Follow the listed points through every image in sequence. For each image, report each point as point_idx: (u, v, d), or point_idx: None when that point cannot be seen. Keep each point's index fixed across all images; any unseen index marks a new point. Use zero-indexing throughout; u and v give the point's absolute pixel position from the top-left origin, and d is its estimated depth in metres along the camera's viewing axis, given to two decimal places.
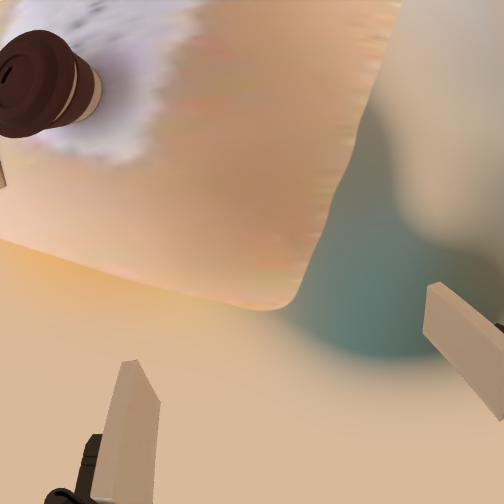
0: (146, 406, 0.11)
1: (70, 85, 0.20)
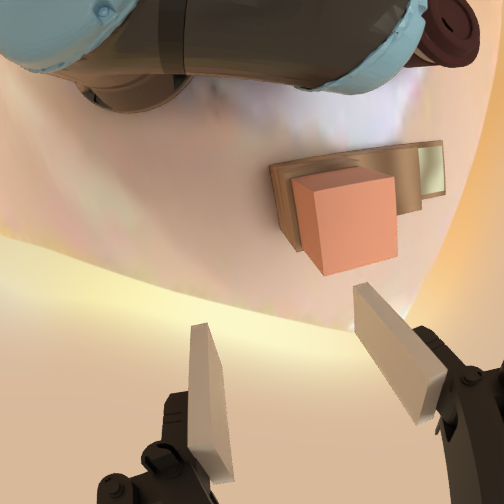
0: (216, 366, 0.13)
1: None
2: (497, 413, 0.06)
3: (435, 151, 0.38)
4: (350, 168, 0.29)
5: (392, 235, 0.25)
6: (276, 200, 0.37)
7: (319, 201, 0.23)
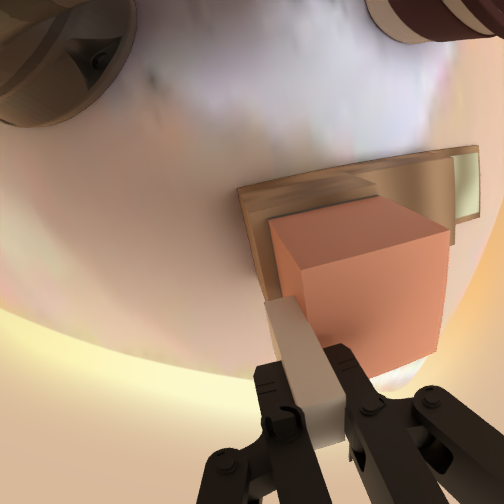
0: None
1: None
2: (410, 440, 0.07)
3: (470, 160, 0.26)
4: (367, 200, 0.18)
5: (434, 324, 0.14)
6: (249, 239, 0.26)
7: (312, 287, 0.12)
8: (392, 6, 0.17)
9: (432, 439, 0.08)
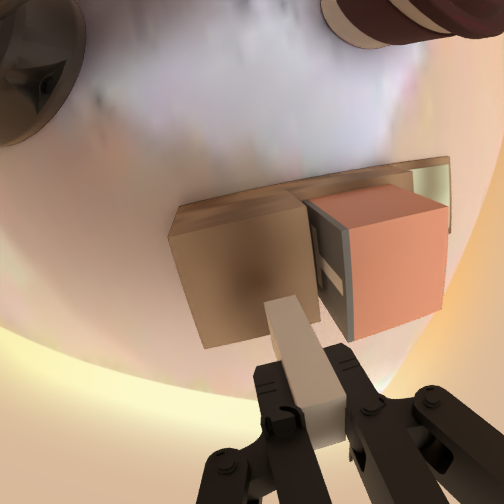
0: None
1: None
2: (410, 439, 0.07)
3: (439, 172, 0.26)
4: (317, 201, 0.21)
5: None
6: None
7: None
8: (342, 9, 0.17)
9: (432, 439, 0.08)
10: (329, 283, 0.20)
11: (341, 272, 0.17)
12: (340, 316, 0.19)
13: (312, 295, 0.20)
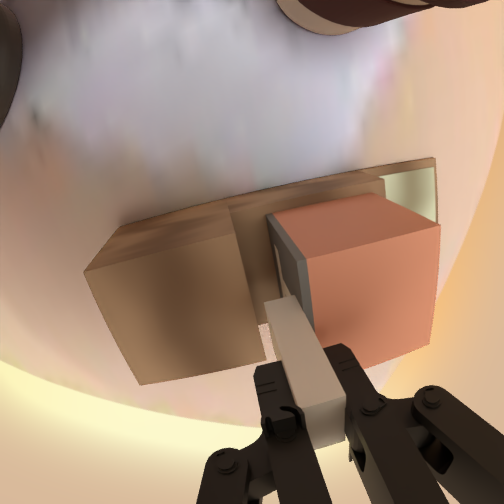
0: None
1: None
2: (409, 439, 0.07)
3: (422, 177, 0.23)
4: (281, 216, 0.18)
5: None
6: None
7: None
8: None
9: (432, 439, 0.08)
10: None
11: None
12: None
13: (252, 333, 0.17)
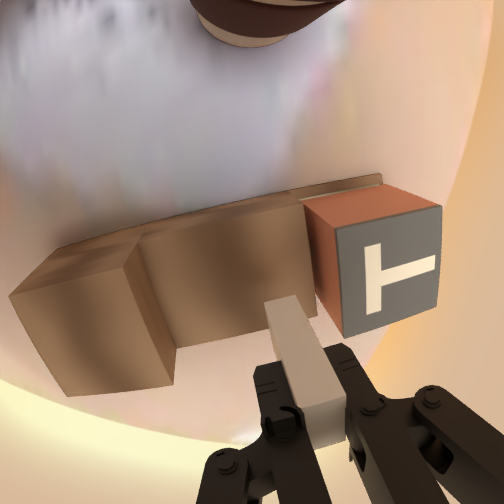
0: None
1: None
2: (410, 439, 0.07)
3: None
4: (350, 221, 0.17)
5: None
6: None
7: None
8: (194, 6, 0.13)
9: (432, 439, 0.08)
10: (404, 284, 0.18)
11: (435, 247, 0.17)
12: (423, 297, 0.18)
13: (154, 359, 0.17)
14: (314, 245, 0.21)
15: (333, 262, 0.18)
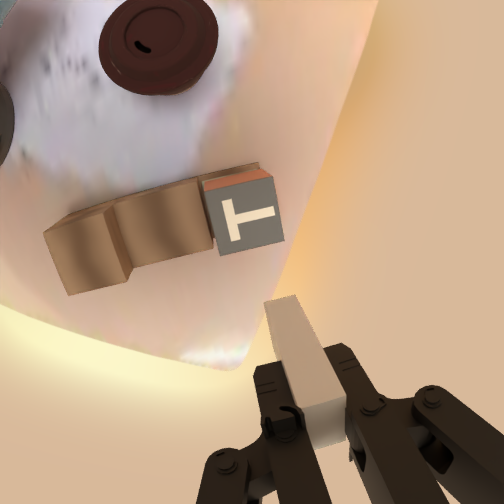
0: None
1: None
2: (410, 440, 0.07)
3: None
4: (214, 188, 0.32)
5: None
6: None
7: None
8: None
9: (432, 439, 0.08)
10: (253, 223, 0.33)
11: (272, 201, 0.33)
12: (271, 233, 0.34)
13: (117, 264, 0.32)
14: None
15: None
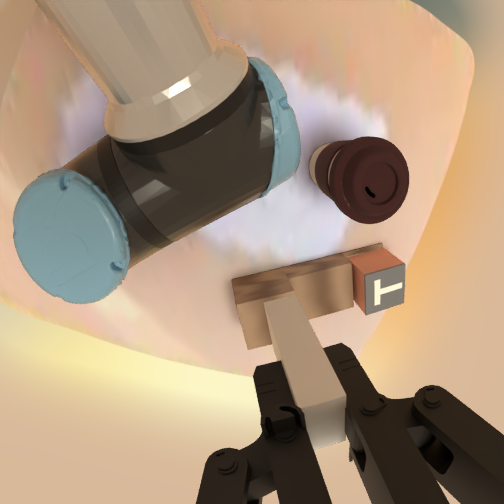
0: None
1: None
2: (410, 440, 0.07)
3: None
4: (369, 271, 0.45)
5: None
6: None
7: None
8: (318, 184, 0.42)
9: (432, 439, 0.08)
10: (389, 293, 0.46)
11: (402, 279, 0.45)
12: (397, 298, 0.47)
13: None
14: (353, 277, 0.49)
15: (362, 286, 0.46)
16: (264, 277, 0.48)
